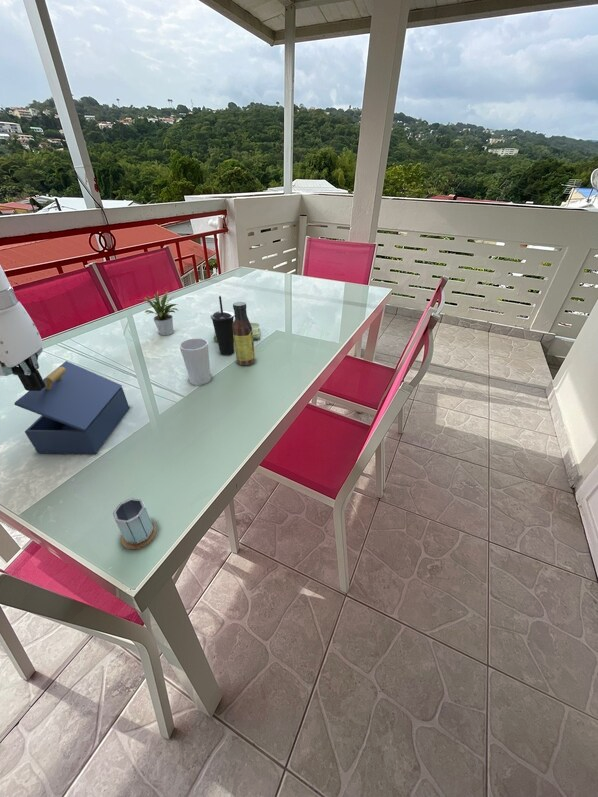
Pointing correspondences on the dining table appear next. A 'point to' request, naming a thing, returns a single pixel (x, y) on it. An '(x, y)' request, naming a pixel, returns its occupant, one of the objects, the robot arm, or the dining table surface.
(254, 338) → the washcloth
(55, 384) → the lid
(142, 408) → the dining table surface
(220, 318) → the drinking cup
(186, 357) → the cup
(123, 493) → the dining table surface
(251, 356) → the sauce bottle
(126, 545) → the coaster
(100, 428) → the chest
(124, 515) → the tumbler
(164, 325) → the house plant
